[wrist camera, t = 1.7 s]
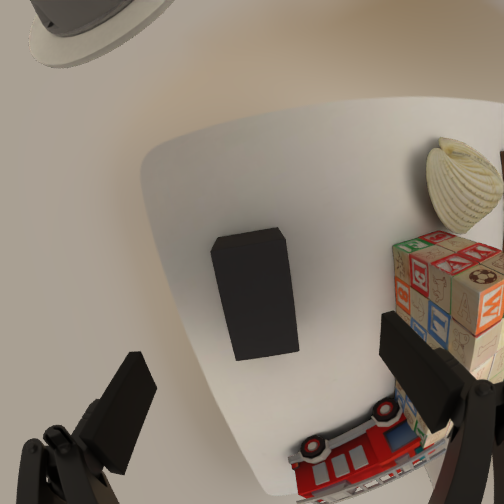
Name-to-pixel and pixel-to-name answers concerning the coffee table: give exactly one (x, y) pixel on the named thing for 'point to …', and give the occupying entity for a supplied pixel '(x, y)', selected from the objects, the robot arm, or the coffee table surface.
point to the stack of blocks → (451, 307)
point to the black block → (256, 293)
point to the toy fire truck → (360, 457)
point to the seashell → (461, 185)
